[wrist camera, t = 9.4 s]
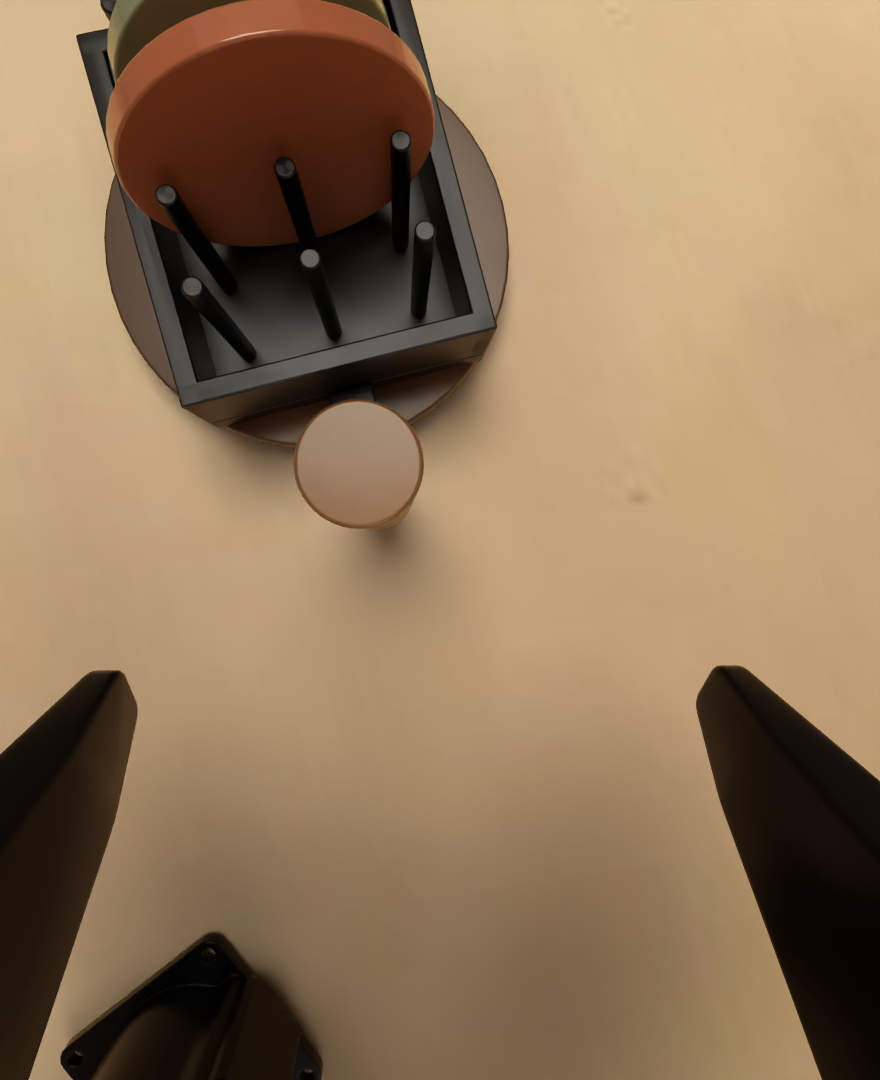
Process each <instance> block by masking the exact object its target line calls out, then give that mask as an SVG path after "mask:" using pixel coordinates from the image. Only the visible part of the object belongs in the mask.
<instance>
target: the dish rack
mask: <svg viewBox="0 0 880 1080" xmlns="http://www.w3.org/2000/svg"><path fill="white" fill-rule="evenodd" d="M100 2H101V7H102V9H103V11H104V13H105V14H106V16H107V18H108V20H109V21H110V24H109V28H108V29H104V30H99V31H93V32H89V33H84V34H79V35H77V36H76V38H77V42H78V45H79V49H80V52H81V56H82V59H83V63H84V66H85V70H86V73H87V77H88V80H89V84H90V87H91V91H92V94H93V98H94V101H95V105H96V108H97V112H98V115H99V119H100V122H101V126H102V129H103V133H104V136H105V140H106V143H107V147H108V150H109V154H110V157H111V161H112V165H113V168H114V172H115V175H116V179H117V182H118V186H119V189H120V193H121V196H122V200H123V203H124V207H125V210H126V214H127V217H128V221H129V224H130V228H131V231H132V235H133V238H134V242H135V245H136V249H137V252H138V256H139V259H140V263H141V266H142V270H143V273H144V277H145V280H146V284H147V287H148V291H149V294H150V298H151V301H152V305H153V308H154V312H155V315H156V319H157V323H158V326H159V330H160V333H161V337H162V340H163V344H164V347H165V351H166V354H167V358H168V361H169V365H170V368H171V372H172V375H173V379H174V382H175V386H176V389H177V393H178V396H179V400H180V403H181V406H182V408H184V409H186V410H188V411H189V412H191V413H193V414H195V415H197V416H198V417H200V418H202V419H204V420H205V421H207V422H209V423H211V424H213V425H215V426H216V427H223V426H227V425H230V424H234V423H238V422H242V421H246V420H250V419H254V418H258V417H262V416H266V415H269V414H273V413H277V412H281V411H285V410H289V409H293V408H297V407H301V406H305V405H308V404H312V403H316V402H320V401H324V400H328V399H329V400H330V404H331V405H330V406H328V407H326V408H325V409H323V410H322V411H320V412H319V413H318V414H316V415H315V416H314V417H313V418H312V419H311V420H310V421H309V422H308V424H307V425H306V426H305V428H304V429H303V431H302V433H301V435H300V437H299V439H298V442H297V445H296V448H295V453H294V473H295V478H296V482H297V485H298V488H299V490H300V492H301V494H302V496H303V498H304V499H305V500H306V502H307V503H308V505H309V506H310V507H311V508H312V509H313V510H314V511H315V512H316V513H318V514H319V515H320V516H321V517H323V518H324V519H326V520H328V521H330V522H332V523H334V524H337V525H340V526H343V527H348V528H357V529H386V528H390V527H393V526H395V525H396V524H398V523H399V522H401V521H402V520H403V519H404V517H405V516H406V515H407V513H408V511H409V509H410V507H411V505H412V503H413V501H414V498H415V496H416V494H417V492H418V490H419V487H420V484H421V481H422V477H423V469H424V460H423V452H422V448H421V445H420V442H419V439H418V437H417V435H416V433H415V431H414V430H413V428H412V427H411V425H410V424H409V423H408V422H407V421H406V419H405V418H404V417H402V416H401V415H400V414H399V413H398V412H396V411H395V410H393V409H392V408H390V407H388V406H386V405H384V404H381V403H378V402H377V401H376V397H375V394H374V390H373V388H375V387H379V386H383V385H387V384H390V383H394V382H398V381H402V380H406V379H410V378H414V377H418V376H422V375H426V374H429V373H433V372H437V371H441V370H445V369H449V368H453V367H457V366H461V365H465V364H469V363H472V362H476V361H480V360H481V359H482V357H483V355H484V353H485V351H486V349H487V347H488V345H489V343H490V341H491V339H492V337H493V335H494V333H495V331H496V329H497V324H496V320H495V317H494V313H493V309H492V305H491V302H490V298H489V294H488V290H487V286H486V283H485V279H484V275H483V271H482V268H481V264H480V260H479V256H478V253H477V249H476V245H475V241H474V237H473V234H472V230H471V226H470V222H469V219H468V215H467V211H466V207H465V204H464V200H463V196H462V192H461V188H460V185H459V181H458V177H457V173H456V170H455V166H454V162H453V158H452V154H451V151H450V147H449V143H448V139H447V136H446V132H445V128H444V124H443V121H442V117H441V113H440V109H439V105H438V102H437V98H436V94H435V90H434V87H433V83H432V79H431V75H430V71H429V68H428V64H427V60H426V56H425V53H424V49H423V45H422V41H421V38H420V34H419V30H418V26H417V22H416V19H415V15H414V11H413V7H412V4H411V0H100Z"/></svg>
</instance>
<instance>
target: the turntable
mask: <svg viewBox="0 0 880 1080" xmlns="http://www.w3.org/2000/svg"><path fill="white" fill-rule="evenodd" d="M436 98H437V102H438V105H439V109H440V113H441V117H442V121H443V124H444V128H445V132H446V136H447V139H448V143H449V147H450V151H451V154H452V158H453V162H454V166H455V170H456V173H457V177H458V181H459V185H460V188H461V192H462V196H463V200H464V204H465V207H466V211H467V215H468V219H469V222H470V226H471V230H472V234H473V237H474V241H475V245H476V249H477V253H478V256H479V260H480V264H481V268H482V271H483V275H484V279H485V283H486V286H487V290H488V294H489V298H490V302H491V305H492V309H493V313H494V317H495V320H496V321H497V318H498V315H499V312H500V309H501V306H502V302H503V297H504V293H505V288H506V283H507V275H508V261H509V245H508V228H507V223H506V217H505V212H504V206H503V202H502V199H501V196H500V192H499V189H498V186H497V183H496V180H495V177H494V175H493V173H492V171H491V169H490V167H489V164H488V162H487V160H486V158H485V156H484V154H483V152H482V150H481V149H480V147H479V146H478V144H477V142H476V141H475V139H474V138H473V136H472V134H471V133H470V131H469V130H468V129H467V128H466V126H465V125H464V124H463V123H462V122H461V120H460V119H459V118H458V117H457V115H456V114H455V113H454V112H453V111H452V110H451V109H450V108H449V107H448V106H447V105H446V104H445V103H444V102H443V101H442V100H441V99H440V98H439V97H438V96H437V95H436ZM104 238H105V253H106V266H107V271H108V276H109V280H110V285H111V290H112V294H113V297H114V300H115V303H116V305H117V308H118V311H119V314H120V317H121V319H122V321H123V323H124V325H125V327H126V329H127V331H128V333H129V335H130V337H131V339H132V341H133V343H134V344H135V346H136V347H137V349H138V350H139V352H140V353H141V355H142V356H143V358H144V359H145V361H146V362H147V364H148V365H149V366H150V367H151V368H152V370H153V371H154V372H155V373H156V374H157V375H158V376H159V378H160V379H161V380H162V381H163V382H164V383H165V384H166V385H167V386H168V387H169V388H170V389H171V390H172V391H173V392H175V393H176V394H177V395H178V393H177V389H176V386H175V382H174V379H173V375H172V372H171V368H170V365H169V361H168V358H167V354H166V351H165V347H164V344H163V340H162V337H161V333H160V330H159V326H158V323H157V319H156V315H155V312H154V308H153V305H152V301H151V298H150V294H149V291H148V287H147V284H146V280H145V277H144V273H143V270H142V266H141V263H140V259H139V256H138V252H137V249H136V245H135V242H134V238H133V235H132V231H131V228H130V224H129V221H128V217H127V214H126V210H125V207H124V203H123V200H122V196H121V193H120V189H119V186H118V182H117V179H116V175H115V176H114V179H113V182H112V185H111V190H110V195H109V200H108V205H107V209H106V222H105V237H104ZM476 362H477V361H476ZM476 362H472V363H469V364H465V365H461V366H457V367H453V368H449V369H445V370H441V371H437V372H433V373H429V374H426V375H422V376H418V377H414V378H410V379H406V380H402V381H398V382H394V383H390V384H387V385H383V386H379V387H375V388H373V390H374V394H375V397H376V401H377V402H378V403H381V404H384V405H386V406H388V407H390V408H392V409H393V410H395V411H396V412H398V413H399V414H400V415H401V416H402V417H404V418H405V419H406V421H407V422H408V423H409V424H410V425H412V424H413V423H415V422H416V421H418V420H420V419H421V418H423V417H424V416H426V415H427V414H429V413H430V412H432V411H433V410H434V409H435V408H436V407H437V406H439V405H440V404H441V403H442V402H443V401H444V400H446V399H447V398H448V397H449V396H450V395H451V394H452V393H453V392H454V391H455V389H456V388H457V387H458V386H459V385H460V384H461V383H462V382H463V380H464V379H465V378H466V377H467V375H468V374H469V372H470V371H471V369H472V368H473V367H474V365H475V364H476ZM330 405H331V404H330V400H329V399H328V400H324V401H320V402H316V403H312V404H308V405H305V406H301V407H297V408H293V409H289V410H285V411H281V412H277V413H273V414H269V415H266V416H262V417H258V418H254V419H250V420H246V421H242V422H238V423H234V424H230V425H227V426H225V427H227V428H228V429H230V430H232V431H234V432H236V433H238V434H241V435H244V436H247V437H250V438H252V439H255V440H258V441H261V442H264V443H269V444H273V445H278V446H283V447H287V448H296V445H297V442H298V439H299V437H300V435H301V433H302V431H303V429H304V428H305V426H306V425H307V424H308V422H309V421H310V420H311V419H312V418H313V417H314V416H315V415H316V414H318V413H319V412H320V411H322V410H323V409H325V408H326V407H328V406H330Z"/></svg>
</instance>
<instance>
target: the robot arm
mask: <svg viewBox="0 0 880 1080" xmlns="http://www.w3.org/2000/svg"><path fill="white" fill-rule="evenodd" d="M696 709H697V714H698V718H699V721H700V725H701V729H702V733H703V737H704V741H705V745H706V749H707V753H708V757H709V761H710V765H711V769H712V773H713V777H714V781H715V785H716V788H717V792H718V795H719V799H720V802H721V805H722V808H723V811H724V814H725V817H726V820H727V822H728V825H729V828H730V830H731V833H732V836H733V839H734V841H735V844H736V847H737V849H738V852H739V855H740V858H741V860H742V863H743V866H744V869H745V871H746V874H747V877H748V879H749V882H750V885H751V888H752V890H753V893H754V896H755V899H756V901H757V904H758V907H759V909H760V912H761V915H762V918H763V920H764V923H765V926H766V928H767V931H768V934H769V937H770V939H771V942H772V945H773V948H774V950H775V953H776V956H777V958H778V961H779V964H780V967H781V969H782V972H783V975H784V977H785V980H786V983H787V986H788V988H789V991H790V994H791V997H792V999H793V1002H794V1005H795V1007H796V1010H797V1013H798V1016H799V1018H800V1021H801V1024H802V1027H803V1029H804V1032H805V1035H806V1037H807V1040H808V1043H809V1046H810V1048H811V1051H812V1054H813V1056H814V1059H815V1062H816V1065H817V1067H818V1070H819V1073H820V1076H821V1078H822V1080H880V781H879V780H878V779H877V778H876V777H874V776H873V775H872V774H871V773H870V772H868V771H867V770H866V769H865V768H864V767H863V766H861V765H860V764H859V763H858V762H857V761H855V760H854V759H853V758H852V757H851V756H849V755H848V754H847V753H846V752H845V751H843V750H842V749H841V748H840V747H839V746H838V745H836V744H835V743H834V742H833V741H832V740H830V739H829V738H828V737H827V736H826V735H824V734H823V733H822V732H821V731H820V730H819V729H817V728H816V727H815V726H814V725H813V724H811V723H810V722H809V721H808V720H807V719H805V718H804V717H803V716H802V715H801V714H799V713H798V712H797V711H796V710H795V709H794V708H792V707H791V706H790V705H789V704H788V703H786V702H785V701H784V700H783V699H782V698H780V697H779V696H778V695H777V694H776V693H775V692H773V691H772V690H771V689H770V688H769V687H767V686H766V685H765V684H764V683H763V682H761V681H760V680H759V679H758V678H757V677H755V676H754V675H753V674H752V673H751V672H750V671H748V670H747V669H745V668H744V667H741V666H737V665H732V666H717V667H715V668H714V669H713V670H712V671H711V673H710V674H709V676H708V678H707V680H706V681H705V683H704V685H703V687H702V688H701V690H700V692H699V694H698V696H697V700H696ZM136 720H137V704H136V701H135V698H134V696H133V693H132V691H131V689H130V686H129V684H128V681H127V679H126V677H125V675H124V674H123V673H122V672H121V671H118V670H99V671H92V672H90V673H88V674H87V675H85V676H84V677H83V678H82V679H81V680H80V681H79V682H78V683H77V684H76V685H74V686H73V687H72V688H71V689H70V690H69V691H68V692H67V693H66V694H65V695H64V696H63V697H62V698H60V699H59V700H58V701H57V702H56V703H55V704H54V705H53V706H52V707H51V708H50V709H49V710H48V711H46V712H45V713H44V714H43V715H42V716H41V717H40V718H39V719H38V720H37V721H36V722H35V723H34V724H32V725H31V726H30V727H29V728H28V729H27V730H26V731H25V732H24V733H23V734H22V735H21V736H20V737H18V738H17V739H16V740H15V741H14V742H13V743H12V744H11V745H10V746H9V747H8V748H7V749H5V750H4V751H3V752H2V753H1V754H0V1080H28V1079H29V1076H30V1073H31V1070H32V1067H33V1064H34V1061H35V1058H36V1055H37V1052H38V1049H39V1046H40V1043H41V1040H42V1037H43V1034H44V1031H45V1028H46V1025H47V1022H48V1020H49V1017H50V1014H51V1011H52V1008H53V1005H54V1002H55V999H56V996H57V993H58V990H59V987H60V984H61V981H62V978H63V975H64V972H65V969H66V966H67V963H68V960H69V957H70V954H71V951H72V948H73V945H74V942H75V939H76V936H77V933H78V930H79V927H80V924H81V921H82V918H83V915H84V912H85V909H86V906H87V903H88V900H89V897H90V894H91V891H92V888H93V885H94V882H95V879H96V876H97V873H98V870H99V867H100V864H101V861H102V858H103V855H104V852H105V849H106V846H107V843H108V840H109V837H110V834H111V831H112V828H113V824H114V821H115V817H116V813H117V809H118V804H119V800H120V795H121V790H122V786H123V781H124V776H125V772H126V767H127V763H128V758H129V753H130V749H131V744H132V739H133V735H134V730H135V725H136ZM206 948H211V949H213V950H214V951H215V953H216V954H213V955H211V954H208V953H206V951H205V949H206ZM75 1051H78V1052H80V1053H82V1055H83V1056H79V1055H78V1054H76V1053H75ZM60 1059H61V1065H62V1066H63V1068H64V1069H65V1071H66V1072H67V1073H68V1074H69V1075H70V1077H71V1078H72V1079H73V1080H321V1076H322V1069H323V1062H322V1060H321V1058H320V1056H319V1055H318V1054H317V1052H316V1051H315V1050H314V1049H313V1048H312V1046H311V1045H310V1044H309V1043H308V1041H307V1040H306V1039H305V1038H304V1036H303V1035H302V1034H301V1030H300V1027H299V1026H298V1025H297V1024H296V1022H295V1021H294V1020H293V1019H292V1018H291V1016H290V1015H289V1014H288V1013H287V1011H286V1010H285V1009H284V1008H283V1006H282V1005H281V1004H280V1003H279V1002H278V1000H277V999H276V998H275V997H274V995H273V994H272V993H271V992H270V991H269V989H268V988H267V987H266V986H265V984H264V983H263V982H262V981H261V979H260V978H258V977H256V976H254V975H253V974H252V973H251V971H250V970H249V969H248V968H247V966H246V965H245V964H244V963H243V962H242V960H241V959H240V958H239V957H238V955H237V954H236V953H235V952H234V951H233V949H232V948H231V947H230V946H229V944H228V943H227V942H226V941H225V939H224V938H223V937H221V936H220V935H218V934H215V933H211V934H207V935H205V936H203V937H202V938H200V939H199V940H198V941H196V942H195V943H194V944H193V945H191V946H190V947H189V948H187V949H186V950H185V951H184V952H182V953H181V954H180V955H178V956H177V957H176V958H175V959H173V960H172V961H171V962H169V963H168V964H167V965H166V966H164V967H163V968H162V969H160V970H159V971H158V972H157V973H155V974H154V975H153V976H151V977H150V978H149V979H148V980H146V981H145V982H144V983H142V984H141V985H140V986H139V987H137V988H136V989H135V990H133V991H132V992H131V993H129V994H128V995H127V996H126V997H124V998H123V999H122V1000H120V1001H119V1002H118V1003H117V1004H115V1005H114V1006H113V1007H111V1008H110V1009H109V1010H108V1011H106V1012H105V1013H104V1014H102V1015H101V1016H100V1017H99V1018H97V1019H96V1020H95V1021H93V1022H92V1023H91V1024H90V1025H88V1026H87V1027H86V1028H84V1029H83V1030H82V1031H81V1032H79V1033H78V1034H77V1035H75V1036H74V1037H73V1038H72V1039H71V1040H70V1041H69V1043H68V1044H67V1046H66V1047H65V1049H64V1050H63V1052H62V1054H61V1057H60ZM305 1069H310V1070H312V1071H313V1072H311V1073H306V1072H304V1071H303V1070H305Z"/></svg>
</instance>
